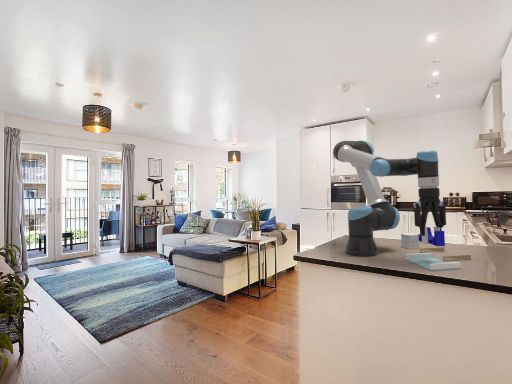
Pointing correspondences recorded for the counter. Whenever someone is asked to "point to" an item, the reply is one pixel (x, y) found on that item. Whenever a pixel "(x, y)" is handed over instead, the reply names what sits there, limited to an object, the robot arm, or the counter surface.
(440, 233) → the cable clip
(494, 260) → the counter surface
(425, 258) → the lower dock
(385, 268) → the counter surface
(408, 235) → the grey block
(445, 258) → the upper dock
